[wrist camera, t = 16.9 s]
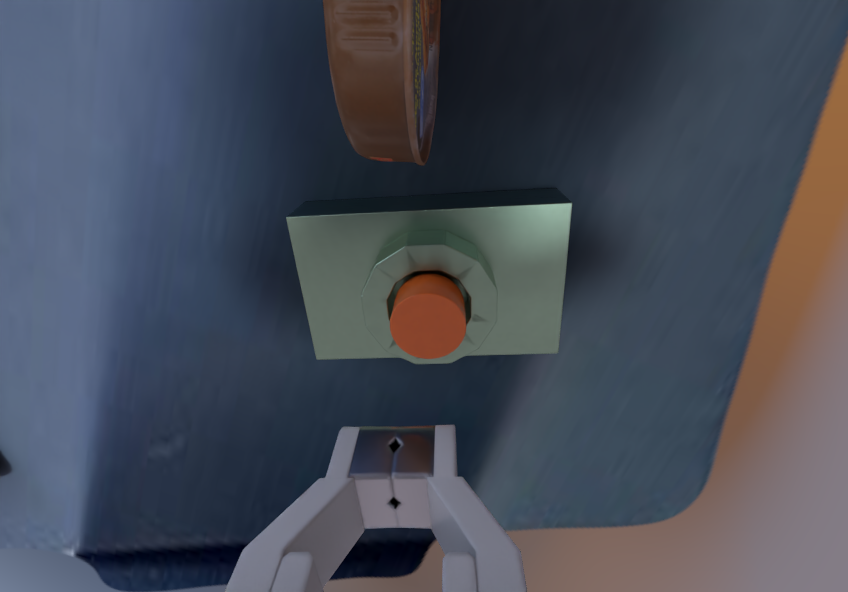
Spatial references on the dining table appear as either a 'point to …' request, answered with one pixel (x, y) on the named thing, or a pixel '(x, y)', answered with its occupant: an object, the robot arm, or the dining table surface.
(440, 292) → the button
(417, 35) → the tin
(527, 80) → the dining table surface
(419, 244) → the console
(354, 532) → the robot arm
